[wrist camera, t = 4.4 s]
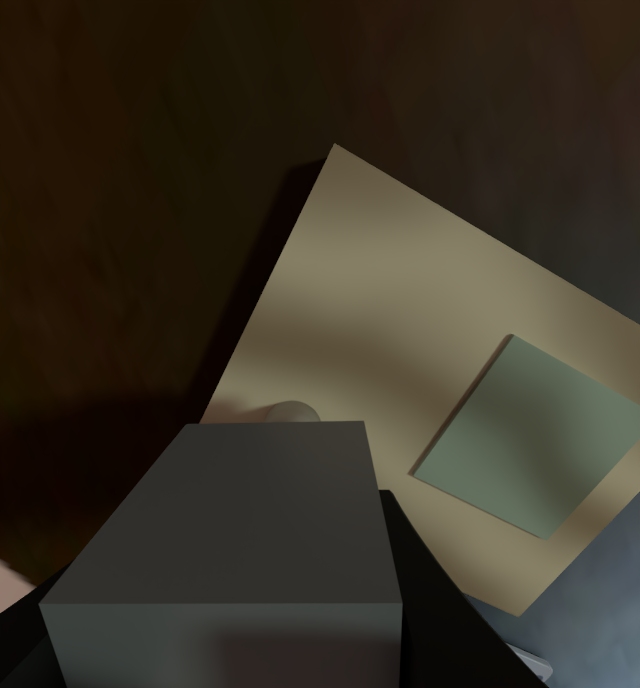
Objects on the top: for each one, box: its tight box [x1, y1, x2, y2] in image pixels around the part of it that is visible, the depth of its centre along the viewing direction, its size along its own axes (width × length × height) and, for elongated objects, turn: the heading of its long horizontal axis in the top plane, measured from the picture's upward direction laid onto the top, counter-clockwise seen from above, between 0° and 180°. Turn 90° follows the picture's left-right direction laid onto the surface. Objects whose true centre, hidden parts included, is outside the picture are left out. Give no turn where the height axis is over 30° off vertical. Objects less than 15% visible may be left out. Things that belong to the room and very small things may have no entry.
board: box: [199, 143, 640, 617], centre depth 13 cm, size 14×18×6 cm
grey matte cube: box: [39, 421, 403, 688], centre depth 8 cm, size 5×5×5 cm
